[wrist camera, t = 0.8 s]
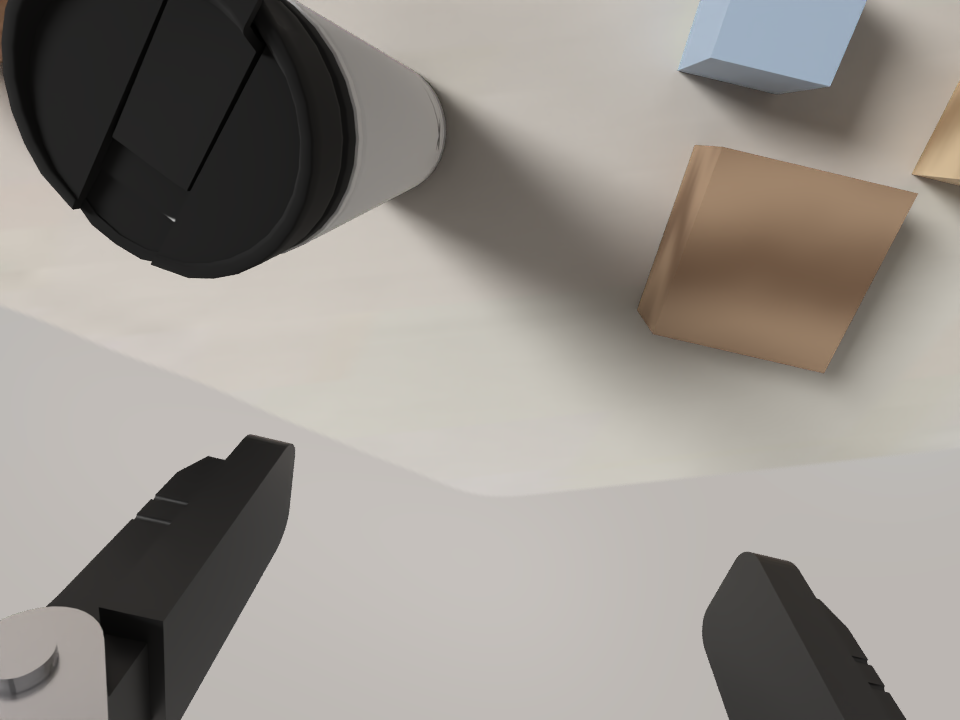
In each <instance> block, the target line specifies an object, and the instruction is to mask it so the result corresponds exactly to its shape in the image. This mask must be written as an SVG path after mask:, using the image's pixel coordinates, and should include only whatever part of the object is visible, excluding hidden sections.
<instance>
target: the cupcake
mask: <svg viewBox="0 0 960 720" xmlns="http://www.w3.org/2000/svg"><path fill="white" fill-rule="evenodd" d="M7 2H8V0H0V63H1V62H2V47H1V39H2V30H3V22H4V13H5V7H6V5H7Z"/></svg>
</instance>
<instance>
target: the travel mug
mask: <svg viewBox="0 0 960 720" xmlns="http://www.w3.org/2000/svg"><path fill="white" fill-rule="evenodd" d="M1 47H2V62H3V76H4V80H5V85H6V89H7V93H8V98H9V102H10V106H11V110H12V113H13V116H14V118H15V121H16V123H17V126H18V128H19V131H20V134H21V136H22V139H23V141H24V144H25V145H26V147H27V149H28V151H29V153H30V155H31V156H32V158H33V160H34V162H35V164H36V165H37V167H38V169H39V171H40V173H41V174H42V175H43V176H44V178H45V179H46V180H47V181H48V182H49V183H50V184H51V186H52V187H53V188H54V189H55V190H56V191H57V192H58V193H59V195H60V196H61V197H62V198H63V199H64V200H65V201H66V202H67V204H68V205H69V206H70V207H71V208H72V209H73V210H74V209H79V208H81V210H82V211H83V213H84V214H85V216H86V217H87V219H88V220H89V221H90V223H91V224H92V225H93V226H94V227H95V228H97V229H98V230H99V231H100V232H102V233H103V234H104V235H105V236H106V237H108V238H109V239H110V240H111V241H113V242H114V243H115V244H116V245H118V246H120V247H122V248H123V249H125V250H127V251H128V252H130V253H132V254H133V255H135V256H137V257H138V258H140V259H142V260H147V261H152V263H151V265H153V266H156V267H159V268H162V269H165V270H167V271H170V272H173V273H176V274H179V275H181V276H184V277H187V278H212V279H214V278H219V277H225V276H230V275H235V274H239V273H241V272H243V271H246V270H248V269H250V268H252V267H255V266H257V265H259V264H261V263H263V262H265V261H267V260H269V259H271V258H273V257H275V256H277V255H279V254H282V253H286V252H288V251H290V250H293V249H295V248H297V247H299V246H301V245H304V244H306V243H308V242H310V241H311V240H313V239H315V238H317V237H319V236H321V235H323V234H325V233H327V232H329V231H331V230H333V229H335V228H337V227H338V226H340V225H342V224H344V223H346V222H348V221H350V220H352V219H354V218H356V217H358V216H360V215H362V214H364V213H365V212H367V211H369V210H371V209H373V208H375V207H377V206H379V205H381V204H383V203H385V202H387V201H389V200H391V199H392V198H394V197H396V196H398V195H400V194H402V193H404V192H406V191H408V190H410V189H412V188H414V187H416V186H417V185H419V184H420V183H422V182H423V181H424V180H426V179H427V178H428V177H429V175H430V174H431V173H432V172H433V171H434V170H435V168H436V166H437V165H438V163H439V161H440V159H441V156H442V153H443V150H444V147H445V140H446V121H445V117H444V112H443V108H442V106H441V103H440V101H439V99H438V97H437V95H436V93H435V92H434V90H433V89H432V87H431V86H430V85H429V84H428V83H427V82H426V80H425V79H424V78H423V77H422V76H420V75H419V74H418V73H416V72H415V71H413V70H412V69H411V68H409V67H407V66H405V65H404V64H402V63H400V62H399V61H397V60H395V59H394V58H392V57H390V56H389V55H387V54H385V53H384V52H382V51H380V50H379V49H377V48H375V47H374V46H372V45H370V44H368V43H367V42H365V41H363V40H362V39H360V38H358V37H357V36H355V35H353V34H352V33H350V32H348V31H347V30H345V29H343V28H342V27H340V26H338V25H337V24H335V23H333V22H331V21H330V20H328V19H326V18H325V17H323V16H321V15H320V14H318V13H316V12H315V11H313V10H311V9H310V8H308V7H306V6H305V5H303V4H301V3H299V2H298V1H296V0H8V2H7V5H6V7H5V13H4V22H3V30H2V39H1Z"/></svg>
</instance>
